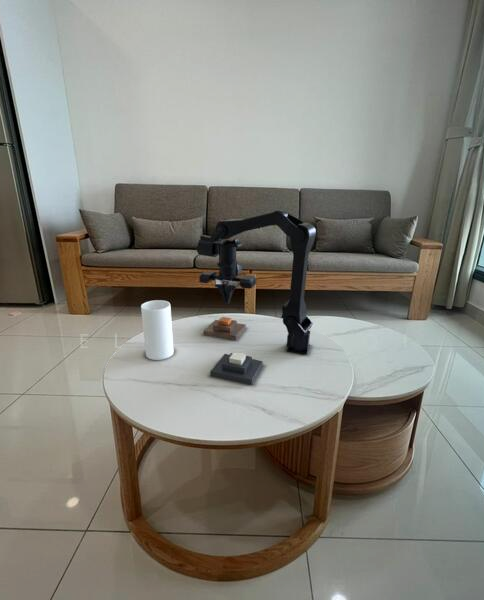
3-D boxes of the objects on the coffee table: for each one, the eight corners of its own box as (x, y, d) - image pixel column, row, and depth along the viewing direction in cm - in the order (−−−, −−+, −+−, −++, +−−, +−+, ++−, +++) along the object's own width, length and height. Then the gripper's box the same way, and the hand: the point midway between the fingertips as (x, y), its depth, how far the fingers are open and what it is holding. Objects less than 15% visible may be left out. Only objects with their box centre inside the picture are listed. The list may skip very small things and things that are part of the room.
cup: (157, 363, 94) (152, 312, 88) (140, 353, 99) (135, 305, 93) (179, 352, 100) (176, 304, 95) (162, 344, 105) (158, 298, 99)
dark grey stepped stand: (262, 365, 94) (263, 355, 93) (251, 385, 85) (252, 373, 84) (224, 358, 97) (224, 348, 96) (210, 376, 88) (210, 365, 87)
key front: (245, 359, 91) (245, 354, 91) (241, 366, 88) (241, 360, 87) (233, 357, 92) (233, 351, 92) (229, 363, 89) (229, 358, 88)
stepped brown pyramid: (245, 328, 117) (245, 319, 116) (235, 340, 108) (236, 331, 107) (215, 323, 121) (215, 315, 119) (203, 334, 112) (203, 325, 111)
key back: (231, 322, 115) (231, 318, 114) (228, 326, 111) (227, 322, 111) (222, 321, 116) (222, 316, 115) (218, 325, 112) (218, 320, 112)
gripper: (261, 256, 111) (260, 299, 116) (211, 251, 116) (212, 292, 121) (251, 263, 101) (250, 309, 106) (197, 258, 106) (199, 302, 111)
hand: (227, 303), depth 111 cm, fingers closed
